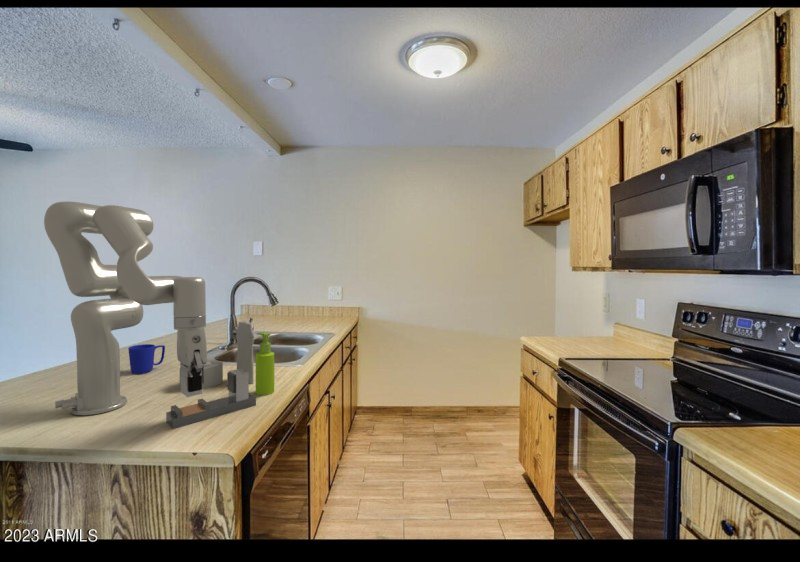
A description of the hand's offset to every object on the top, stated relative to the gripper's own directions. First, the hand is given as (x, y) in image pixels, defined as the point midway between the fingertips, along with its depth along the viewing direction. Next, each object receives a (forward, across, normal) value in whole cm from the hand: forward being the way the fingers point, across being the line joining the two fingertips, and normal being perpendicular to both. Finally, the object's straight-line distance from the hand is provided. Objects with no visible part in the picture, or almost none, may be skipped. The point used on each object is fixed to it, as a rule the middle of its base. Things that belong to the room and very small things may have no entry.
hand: (191, 387), depth 96 cm
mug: (+9, +58, -2) cm, 59 cm away
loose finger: (+1, 0, 0) cm, 1 cm away
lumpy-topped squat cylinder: (+9, +28, -11) cm, 32 cm away
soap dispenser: (+9, +6, -24) cm, 26 cm away
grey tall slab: (+9, +21, -24) cm, 33 cm away
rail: (+9, 0, -6) cm, 11 cm away
